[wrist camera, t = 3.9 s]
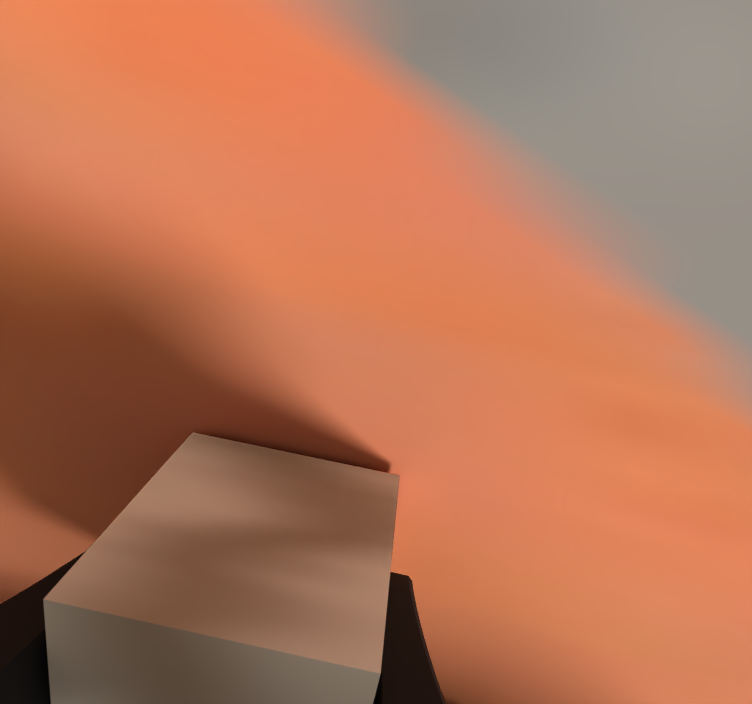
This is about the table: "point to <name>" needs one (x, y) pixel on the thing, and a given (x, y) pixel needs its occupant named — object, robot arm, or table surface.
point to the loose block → (231, 585)
